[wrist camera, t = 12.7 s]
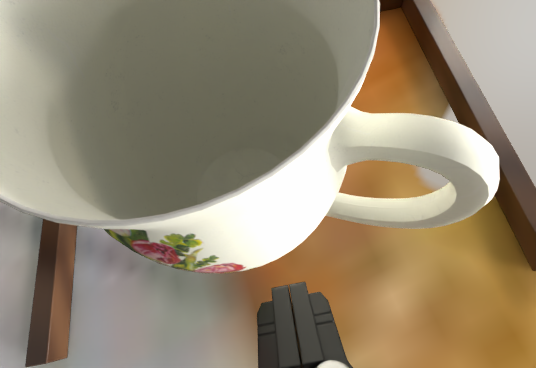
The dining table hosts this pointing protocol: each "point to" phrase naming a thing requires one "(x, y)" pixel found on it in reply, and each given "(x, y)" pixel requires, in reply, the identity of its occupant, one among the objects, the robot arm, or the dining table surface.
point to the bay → (464, 107)
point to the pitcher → (212, 126)
